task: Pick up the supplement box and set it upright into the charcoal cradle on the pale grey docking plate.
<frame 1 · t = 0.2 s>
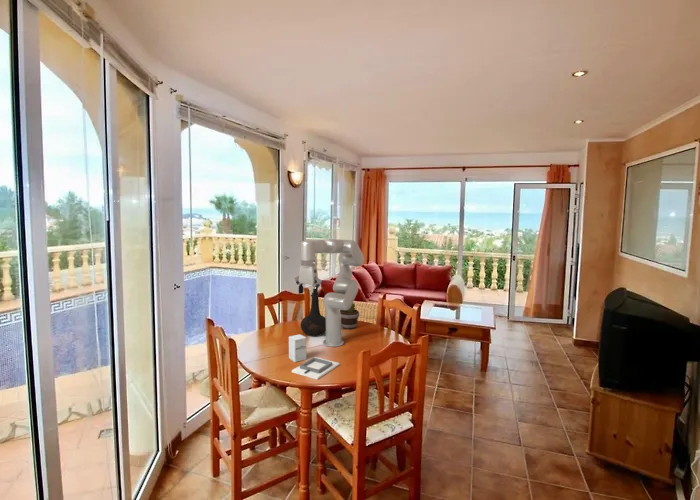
hand: (308, 294, 207), 36 cm above the table, tool pointing down, fingers open, 9 cm apart
supplement box: (297, 359, 209), on the table
flowerpot: (348, 327, 264), on the table
black vase: (314, 334, 249), on the table
dock: (316, 368, 196), on the table
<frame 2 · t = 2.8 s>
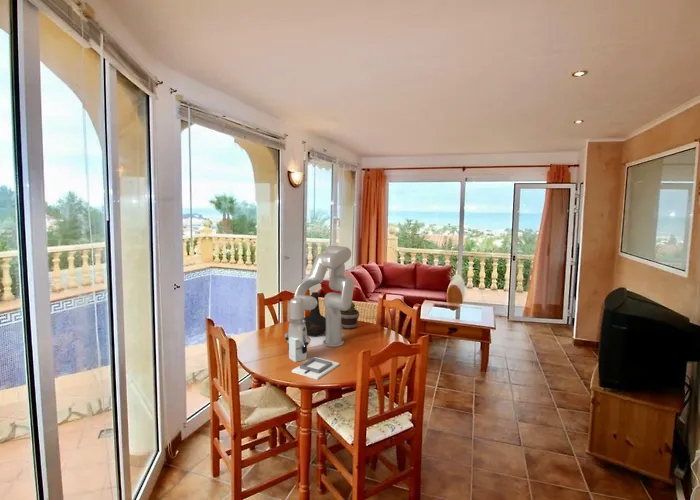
hand: (297, 351, 208), 4 cm above the table, tool pointing down, fingers open, 9 cm apart
nothing on the table moved.
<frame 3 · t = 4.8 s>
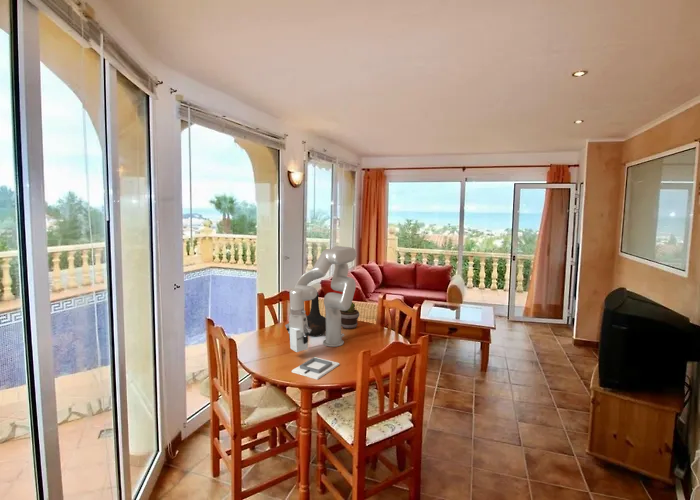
hand: (298, 341, 208), 10 cm above the table, tool pointing down, fingers closed on supplement box, 9 cm apart
supplement box: (299, 349, 209), point 5 cm above the table, touching gripper
everything else where it was.
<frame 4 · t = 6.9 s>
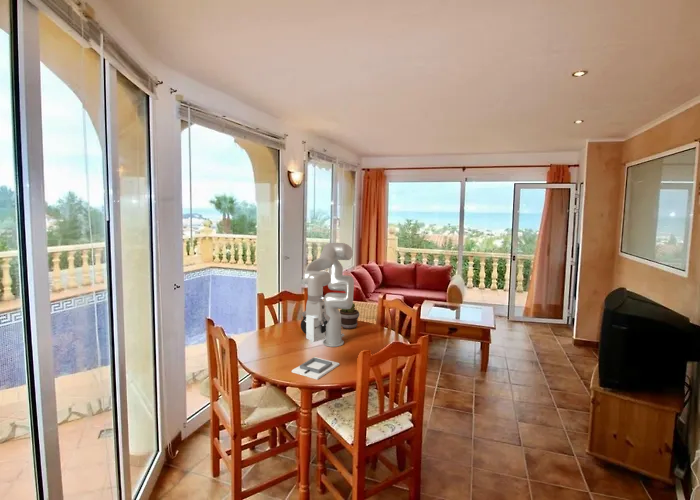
hand: (315, 330, 194), 20 cm above the table, tool pointing down, fingers closed on supplement box, 9 cm apart
supplement box: (315, 339, 195), point 16 cm above the table, touching gripper
everything else where it was.
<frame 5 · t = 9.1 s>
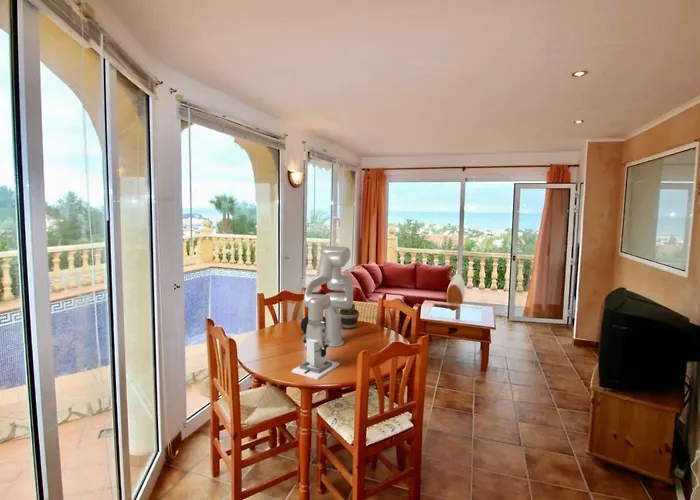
hand: (315, 354, 195), 8 cm above the table, tool pointing down, fingers closed on supplement box, 9 cm apart
supplement box: (316, 362, 196), point 3 cm above the table, touching gripper
everything else where it was.
when the fingers open (6 cm above the table, at t = 10.6 s): supplement box stays where it is, resting on dock.
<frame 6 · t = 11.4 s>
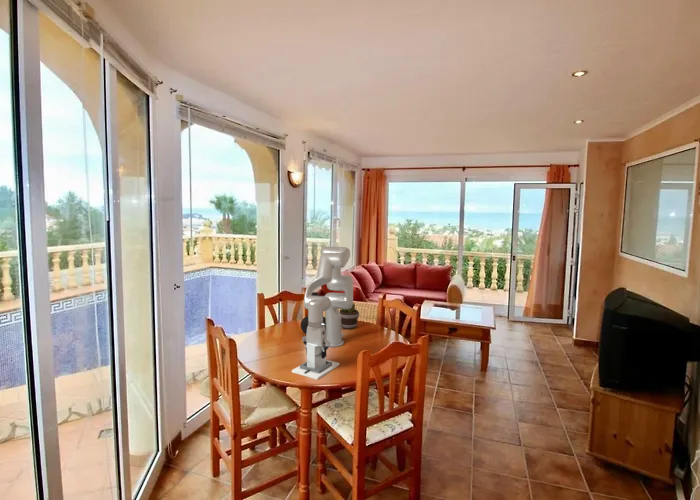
hand: (316, 355, 196), 7 cm above the table, tool pointing down, fingers open, 9 cm apart
supplement box: (316, 366, 196), point 1 cm above the table, touching dock, gripper
everything else where it was.
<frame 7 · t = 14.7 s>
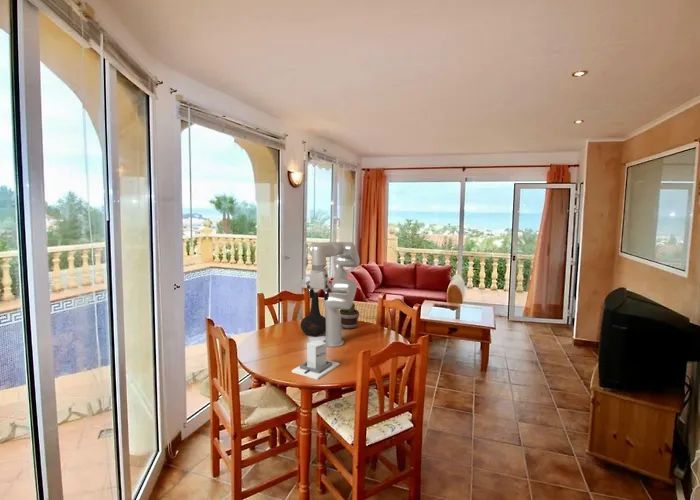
hand: (319, 298, 207), 33 cm above the table, tool pointing down, fingers open, 9 cm apart
supplement box: (316, 366, 197), point 1 cm above the table, touching dock
everything else where it was.
at the end: supplement box 0.5 cm off-centre on the dock, point 0.8 cm above the dock's base; supplement box tilted 0°; the gripper is holding nothing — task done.
